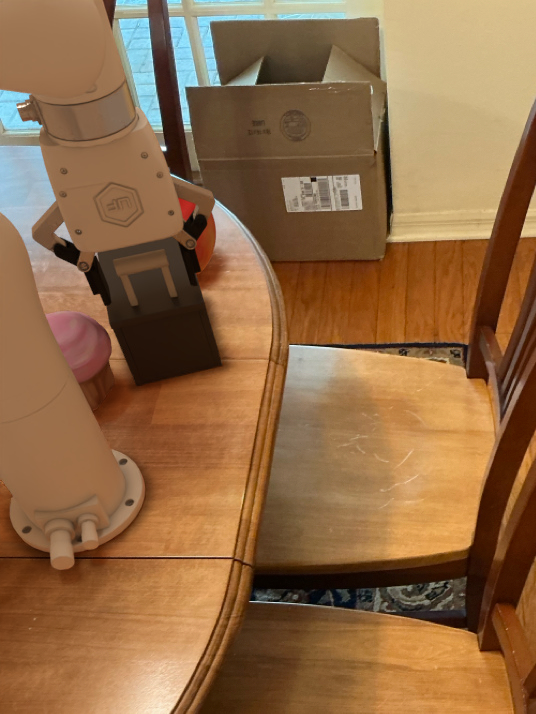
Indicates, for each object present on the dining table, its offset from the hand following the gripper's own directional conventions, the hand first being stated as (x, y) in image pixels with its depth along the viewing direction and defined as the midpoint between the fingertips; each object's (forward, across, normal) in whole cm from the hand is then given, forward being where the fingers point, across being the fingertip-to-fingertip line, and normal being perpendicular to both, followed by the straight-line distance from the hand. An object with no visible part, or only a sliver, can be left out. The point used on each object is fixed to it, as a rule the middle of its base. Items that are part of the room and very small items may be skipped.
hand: (150, 287), depth 77 cm
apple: (+11, +4, +18) cm, 21 cm away
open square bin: (+11, 0, +5) cm, 12 cm away
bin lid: (+2, 0, +5) cm, 5 cm away
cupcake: (+11, -10, -1) cm, 15 cm away
